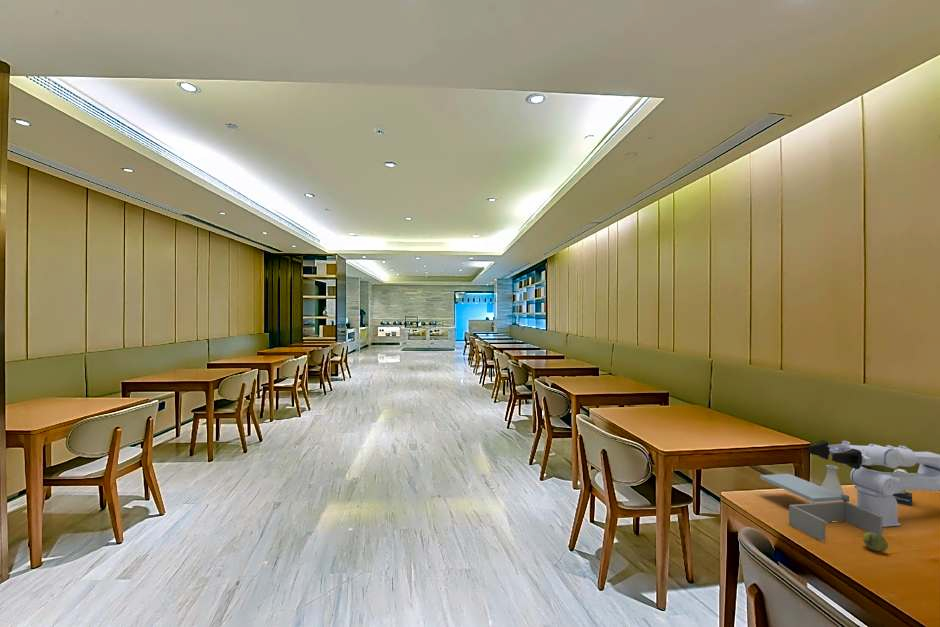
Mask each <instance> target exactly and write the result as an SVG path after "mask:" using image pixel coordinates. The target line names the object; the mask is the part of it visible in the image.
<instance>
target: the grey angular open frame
mask: <svg viewBox="0 0 940 627" xmlns="http://www.w3.org/2000/svg"><path fill="white" fill-rule="evenodd" d="M788 505H789V506H788V507H789V508H788V510H789V511H788V525H789V526H791V527H793V528H795V529H797V530H798V531H800V530H801V531H800V532H802V531H803V533H804V532H805V533H804V534H807V535H808V536H810V537H812V538H813V539H815V538H817V539H819V540H821V541H825V542H826V523H825V522H832V521H846V522H845V523H847V522H848V524H849V523H851V524H853V525H852V526H854V525H855V526H854V527H856V526H857V527H856V528H858V527H859V529H860V528H861V529H860V530H862V529H863V530H862V531H864V532H866V533H867V532H875V533H878V534H879V535H881V536H882V537H883V527H882V516H879V515H877V514H875V513H872V512H870V511H867V510H865V509H863V508H860V507H858V506H857V505H855V504H854V503H850V502H847V501H842V500H841V501H826V502H811V503H799V504H797V503H796V504H788ZM851 524H850V525H851ZM817 539H816V540H817ZM819 540H818V541H819ZM821 541H820V542H821Z"/></svg>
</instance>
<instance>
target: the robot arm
mask: <svg viewBox="0 0 940 627" xmlns="http://www.w3.org/2000/svg"><path fill="white" fill-rule="evenodd" d="M807 453H808V454H811V455H813V456H814V455H815V456H817V457H819V458H821V459H825V460H828V461H829V456H830V457H831V461H832V462H836V463H839V464H842V465H844V466H847V467H850V468H851V471H850V475H849V479H850V481H851V483H852V484H853V485H854V489H855V490H856V491H857V493H856V495H857V496H856V501H857V502H856V506H858V507H860V508H863V509H865V510H867V511H870V512H872V513H875V514H877V515H879V516H882V528H884V527H885V528H886V527H896V526H898V527H899V526H901V523H900V522H898V503H897V501H896V499H895V497H894V496H893V494H896V493H899V492H900V490H906V491H920V492H921V491H922V492H923V491H925V492H939V491H940V454H938V453H934V452H931V451H927V450H925V451H914V450H912V449H910V448H908V446H905V445H900V444H899V445H898V446H897V447H896V446H894V445H893V446H892V445H890V444H887V445H886V446H882V445H879V444H874V443H869V444H868V445H858V444H857V445H854V444H851V442H850V441H848V440H842V441H841V443H839V444H829V441H827V440H824V439H823V440H819V442H818V443H816V444H813V445H809V446H807ZM916 464H919V466H918V469H917V472H916V473H915V472H907V473H895V472H894V471H893V472H892V471H891V472H889V471H879V470H874V469H868V468H865V467H863V466H883V467H886V468H889V469H893V470H896V469H898V467H907V468H910V467H913V466H915V465H916Z"/></svg>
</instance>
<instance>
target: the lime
mask: <svg viewBox="0 0 940 627" xmlns="http://www.w3.org/2000/svg"><path fill="white" fill-rule="evenodd" d="M862 541H863V543H864V545H865V546H866V547H867V548H868V549H869V550H871V551H874V552H879V553H880V552H881V553H882V552H885V551H886V550H887V549H888V548H889V543H888V542H887V540H886V539H885V538H884V537H883V535H882V536H881V535H879V534H878V533H875V532H867V531H866V533H864V535H863V538H862Z"/></svg>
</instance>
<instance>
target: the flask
mask: <svg viewBox="0 0 940 627" xmlns="http://www.w3.org/2000/svg"><path fill="white" fill-rule="evenodd" d="M825 466H826V468H827V469H826V474H825V477H824V479H823V482H822V483H821V485H820V486H821V487H823V488H826V489H828V490H830V491H833V492H835V493H838V494H840V495H841V494H843V495H845V493H844V491H843V489H842V486H841V482H840V480H839V477H838V470H839V467H838V466H836V465H834V464H833V465H831V464H826V465H825Z"/></svg>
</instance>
